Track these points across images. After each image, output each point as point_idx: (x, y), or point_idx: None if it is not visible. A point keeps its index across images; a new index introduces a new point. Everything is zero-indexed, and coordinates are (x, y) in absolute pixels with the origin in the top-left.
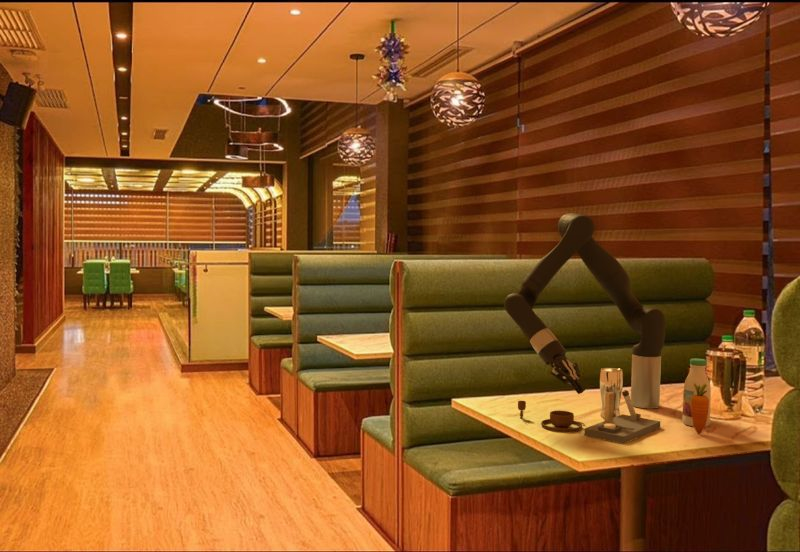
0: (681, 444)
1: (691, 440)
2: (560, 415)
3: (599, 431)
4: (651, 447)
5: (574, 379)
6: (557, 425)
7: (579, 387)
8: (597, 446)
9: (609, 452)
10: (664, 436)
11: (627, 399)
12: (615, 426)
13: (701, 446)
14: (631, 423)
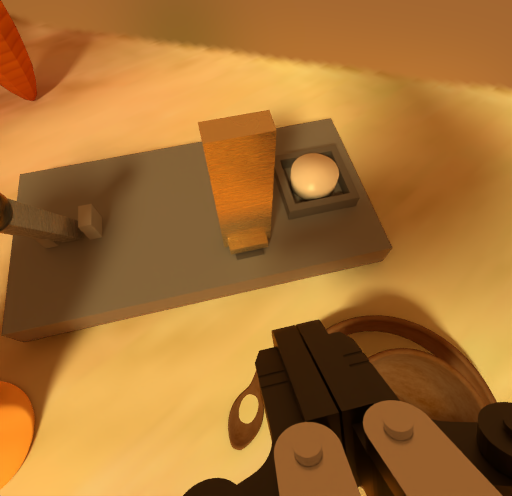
0: (182, 72)
1: (119, 79)
2: None
3: (363, 191)
4: (281, 88)
5: (406, 404)
6: (441, 403)
7: (338, 348)
8: (427, 155)
9: (432, 109)
10: (139, 129)
11: (23, 211)
12: (301, 158)
13: (157, 46)
14: (145, 205)
